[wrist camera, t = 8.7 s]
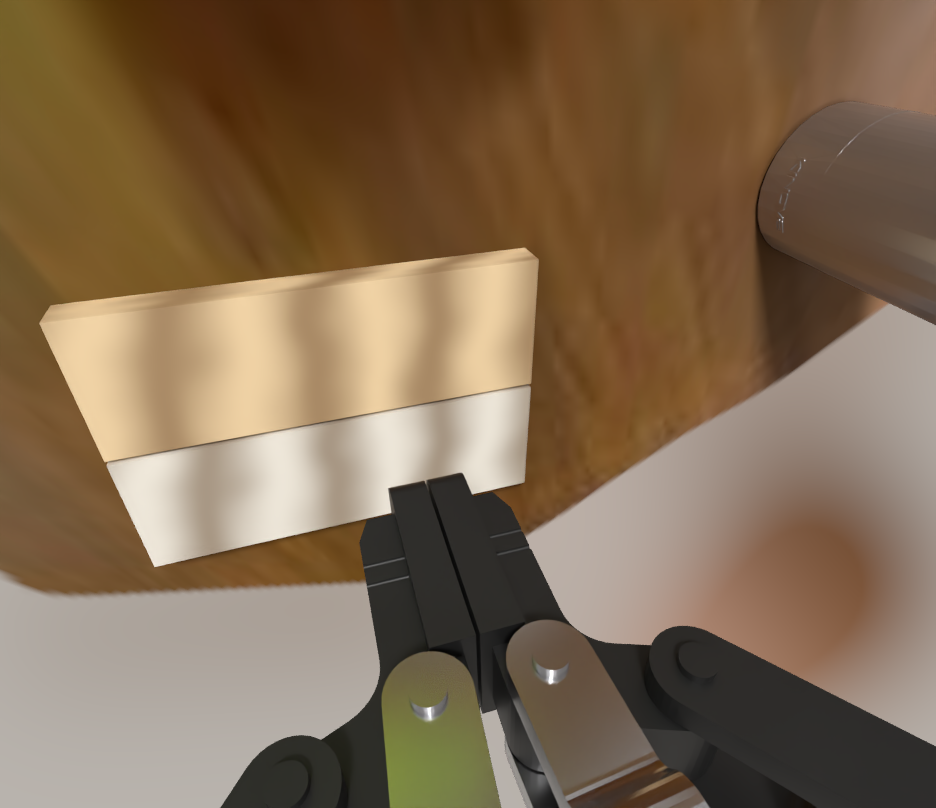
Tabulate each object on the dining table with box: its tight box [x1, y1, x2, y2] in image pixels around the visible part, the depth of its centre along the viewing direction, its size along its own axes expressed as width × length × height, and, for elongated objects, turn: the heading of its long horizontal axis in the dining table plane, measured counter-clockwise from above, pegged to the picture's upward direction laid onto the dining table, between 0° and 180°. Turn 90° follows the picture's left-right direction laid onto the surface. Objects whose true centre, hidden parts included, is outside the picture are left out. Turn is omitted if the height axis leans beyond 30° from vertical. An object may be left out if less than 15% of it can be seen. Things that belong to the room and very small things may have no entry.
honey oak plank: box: [39, 248, 539, 462], centre depth 32 cm, size 24×8×2 cm, turn 91°
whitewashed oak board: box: [107, 384, 531, 567], centre depth 37 cm, size 24×8×2 cm, turn 91°
